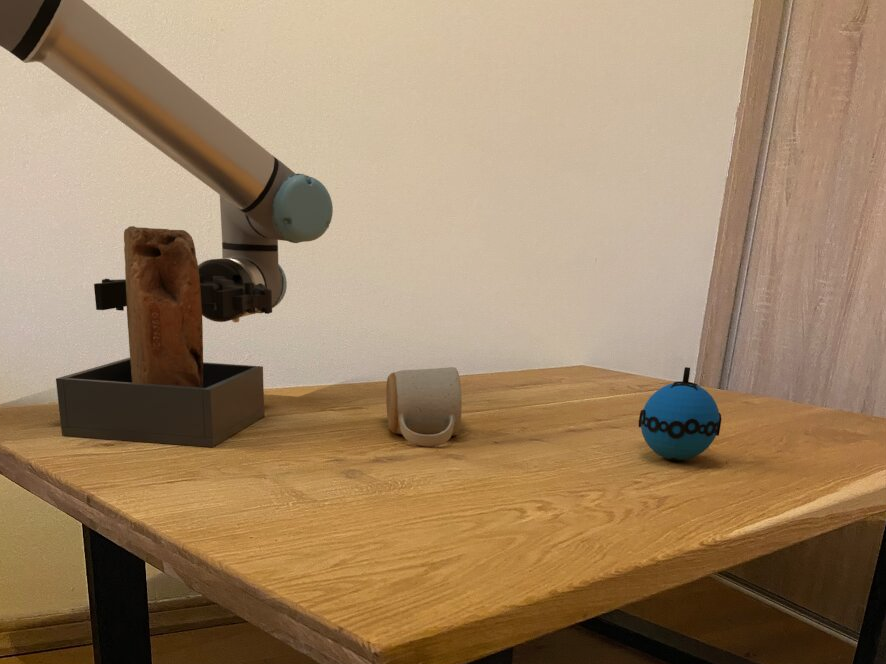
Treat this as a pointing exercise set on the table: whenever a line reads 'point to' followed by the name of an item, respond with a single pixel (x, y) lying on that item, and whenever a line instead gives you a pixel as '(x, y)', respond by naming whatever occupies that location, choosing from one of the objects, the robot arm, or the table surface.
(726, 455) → the table surface
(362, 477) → the table surface
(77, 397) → the bin
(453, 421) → the ceramic mug
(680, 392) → the ornament
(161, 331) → the block
